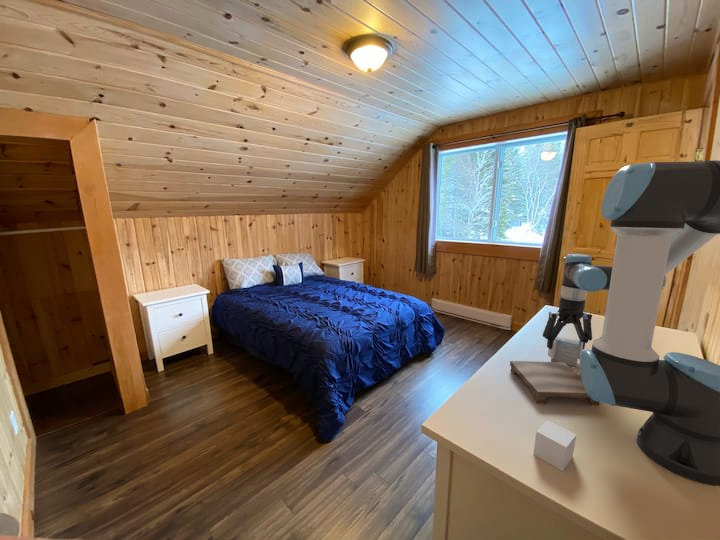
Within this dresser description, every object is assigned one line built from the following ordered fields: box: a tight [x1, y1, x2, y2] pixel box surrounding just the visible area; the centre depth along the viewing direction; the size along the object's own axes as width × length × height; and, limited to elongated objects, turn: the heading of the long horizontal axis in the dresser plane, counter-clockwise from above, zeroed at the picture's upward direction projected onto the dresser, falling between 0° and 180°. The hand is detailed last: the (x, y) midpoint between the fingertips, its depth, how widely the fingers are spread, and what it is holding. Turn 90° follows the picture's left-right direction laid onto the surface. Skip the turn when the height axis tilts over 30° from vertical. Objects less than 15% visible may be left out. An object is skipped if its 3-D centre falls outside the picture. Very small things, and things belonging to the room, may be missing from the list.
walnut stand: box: [509, 360, 600, 406], centre depth 96 cm, size 18×18×4 cm
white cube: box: [533, 420, 577, 472], centre depth 69 cm, size 6×6×6 cm
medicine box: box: [550, 336, 580, 368], centre depth 112 cm, size 8×4×9 cm, turn 57°
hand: (564, 356), depth 112 cm, fingers closed on medicine box, 9 cm apart
